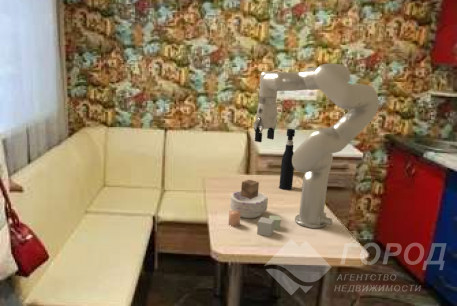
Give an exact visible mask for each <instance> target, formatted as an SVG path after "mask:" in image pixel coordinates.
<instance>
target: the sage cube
mask: <svg viewBox="0 0 457 306" xmlns="http://www.w3.org/2000/svg"><path fill="white" fill-rule="evenodd" d="M268 216H269V217H268V218H270V219H274V230H280V229H281V228H280V227H281V217H280V215H268Z"/></svg>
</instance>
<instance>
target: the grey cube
mask: <svg viewBox="0 0 457 306" xmlns="http://www.w3.org/2000/svg"><path fill="white" fill-rule="evenodd" d="M274 230H275V229H274V219H270V218H269V217H263V216H260V218H259V219H258V221H257V229H256V231H257V232H256V235H260V236H264V237H271V236H272V235H273V233H274Z"/></svg>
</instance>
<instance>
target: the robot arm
mask: <svg viewBox="0 0 457 306" xmlns="http://www.w3.org/2000/svg"><path fill="white" fill-rule="evenodd" d="M259 78H260V81H259V92H258V105H257V110H256V116H255V121H254V122H253V123H252V124H253V130H254V142H257V143H262V141H263V140H262V139H263V129H267V132H266V133H267V134H266V135H267V136H266V138H267V140H268V139H269V140H272V141H273V140H274V139H275V131H276V127H277V123H278V118H277V117H278V110H277V109H278V108H277V107H278V106H277V100H278V99H277V97H278V92H292V91H293V92H294V91H295V92H297V91H307V90H309V91H316V90H321V91H322V92H323V94H324V95H325V96H326V97H327V98H328V99H329V100H331V102H332V103H333V104H334V105H335V106H336V107H338V108H340V109H342V110H348V112H346V113H344V114H343V115H342V116H341V117H340V118H339V119H338V120H337V122H336V123H334V124H333V125H332V126H329V127H325V128H324V127H323V128H320V129H316V130H314V131H313V132H312V133H311V134H310V135H309V136H307V137H306V139H305V140H304V141H302V143H300V144H299V146H298V147H297V148H296V150H295V151H293V153H294V154H293V157H292V164H293V167H294V170H296V171H297V172H299V173H303V178H302V184H301V185H302V186H301V192H300V193H301V196H300V205H299V213H298V215H295V217H294V222H296V224H297V225H299V226H302V227H306V228H311V229H321V228H324V227H326V226H327V225H329V226H332V225H333V223H334V222H333V218H331V217H327V212H325V207H326V197H327V188H328V182H329V175H330V172H331V168H332V164H333V162H334V161H333V154H336V153H339V152H342V151H343V150H345V148H346V147H347V146H348V145H349V144H350V143H351V142H352V141H353V140H354V139H355V138H356V137H357V136H358V135H359V134H360V133H361V132H362V131H363V130H364V129H365V128H366V127H367V126H369V124H370V123H371V122H372V121H373V119H374V118H375V117H376V115H377V113H378V110H379V96H378V93H377V91H376V89H375V88H374V87H372V86H371V85H368V84H361V83H359V84H358V83H357V84H356V83H355V84H354V83H353V84H352V83H351V84H350V83H349V81H350V79H351V71H350V70H349V68H348V67H347V66H345V65H343V64H341V63H340V64H338V63H324V64H321V65H319V66H315V67H309V68H307V69H306V70H305V71H298V72H283V71H282V72H281V71H279V72H278V71H277V72H276V71H266V70H265V71H262V72H261V73H260V77H259Z"/></svg>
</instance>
